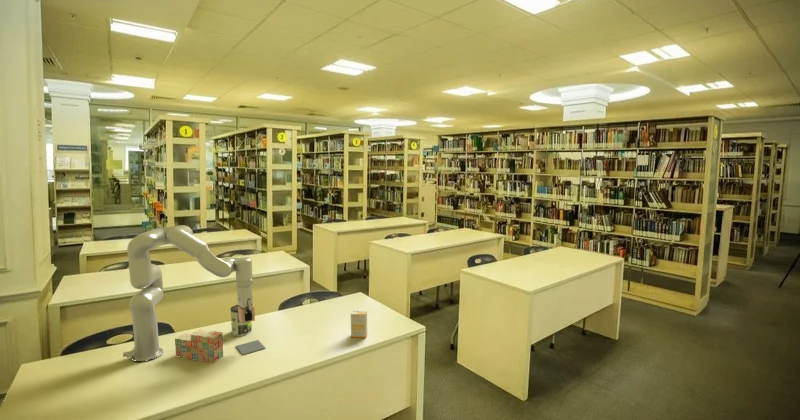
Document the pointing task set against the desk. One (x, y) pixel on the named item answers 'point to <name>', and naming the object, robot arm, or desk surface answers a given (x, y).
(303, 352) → the desk surface
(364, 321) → the supplement box
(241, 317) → the tan cardboard-coloured cube
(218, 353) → the stack of blocks
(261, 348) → the mat
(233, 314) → the coffee can
